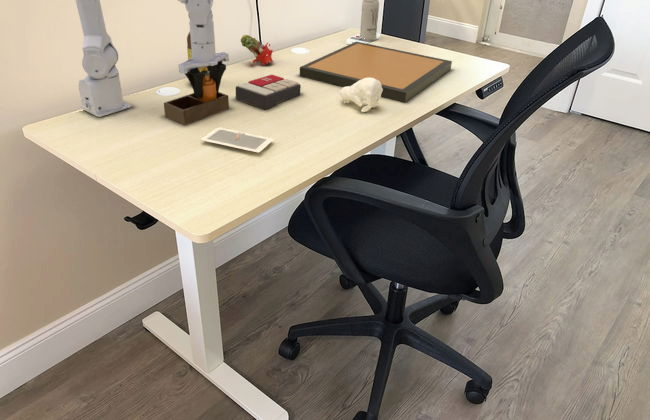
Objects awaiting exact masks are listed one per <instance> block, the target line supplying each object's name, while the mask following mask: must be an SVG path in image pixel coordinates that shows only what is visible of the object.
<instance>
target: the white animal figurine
mask: <svg viewBox="0 0 650 420" xmlns="http://www.w3.org/2000/svg"><path fill="white" fill-rule="evenodd" d="M382 91H383V89H382V85H381V83H380V81H378V80H376V79H374V78H364V79H362V80H359V81H358V82H356V83H354V84H353V85H352V86H346V87H341V89H340V91H339V97H340V98H341V100H342V101H343V103H344V105H346V103H347V104H349V103H350V102H352V103H353V102H354V103H355V104H356V105H357V106H358V107H362V108H361V110H360V112H361V113H366V112H369V111H370V110H371V109H374V108H376V107H377V105H378V104H379V102H380V100H381V98H382V97H381V94H382ZM365 101H366V102H367V105H365V106H363V102H365Z"/></svg>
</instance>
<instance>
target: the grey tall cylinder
mask: <svg viewBox="0 0 650 420" xmlns="http://www.w3.org/2000/svg"><path fill="white" fill-rule="evenodd" d="M361 3H362V4H361V16H360V17H361V18H360V31H359V38H360V40H361V41H363V42H374V41H375V39H376V38H377V34H378V33H377V31H378V20H379V8H380V1H379V0H362V2H361ZM361 37H362V38H361ZM364 38H365V39H364Z"/></svg>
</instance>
